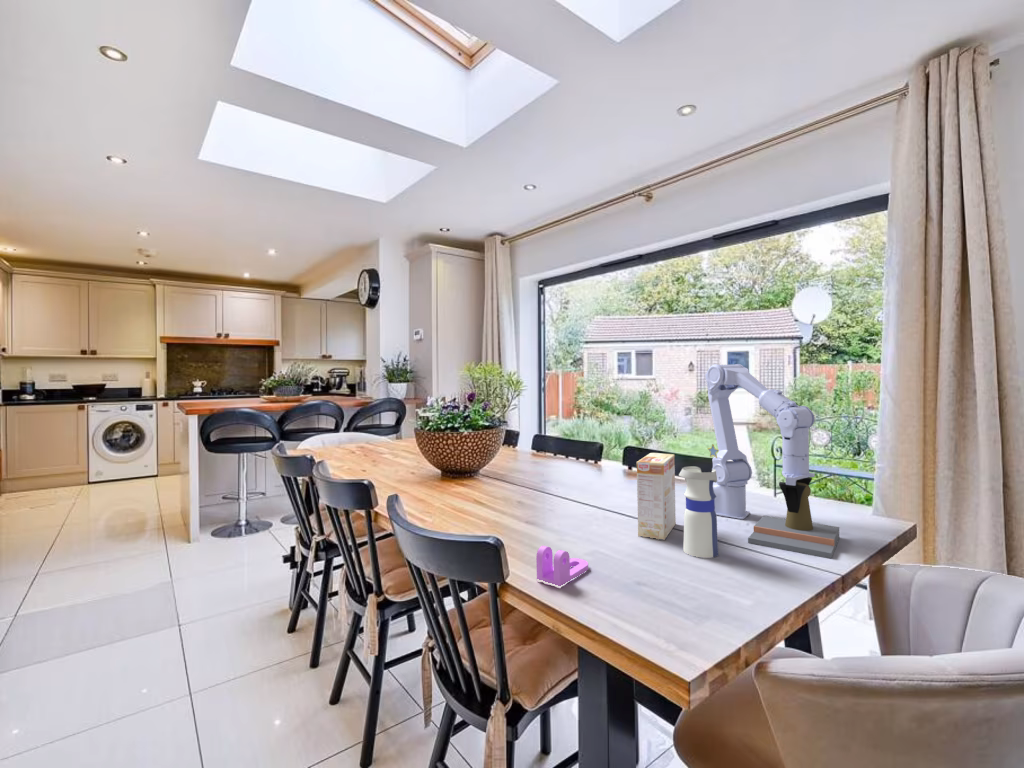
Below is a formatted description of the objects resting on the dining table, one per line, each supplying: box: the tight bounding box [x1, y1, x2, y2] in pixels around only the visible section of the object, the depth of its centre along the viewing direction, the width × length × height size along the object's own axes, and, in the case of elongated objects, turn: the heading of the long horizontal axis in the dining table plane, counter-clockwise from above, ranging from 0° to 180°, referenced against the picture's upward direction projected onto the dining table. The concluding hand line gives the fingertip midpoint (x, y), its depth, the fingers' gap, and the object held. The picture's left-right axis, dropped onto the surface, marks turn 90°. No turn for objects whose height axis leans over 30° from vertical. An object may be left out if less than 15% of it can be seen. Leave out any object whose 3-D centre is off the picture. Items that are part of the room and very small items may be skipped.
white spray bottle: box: [678, 443, 719, 559], centre depth 112 cm, size 8×9×25 cm
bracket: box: [535, 545, 589, 586], centre depth 100 cm, size 13×6×7 cm, turn 141°
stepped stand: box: [747, 515, 840, 559], centre depth 118 cm, size 17×17×3 cm
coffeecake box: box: [636, 452, 677, 541], centre depth 127 cm, size 15×7×20 cm, turn 150°
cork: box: [785, 482, 813, 531], centre depth 120 cm, size 6×6×11 cm
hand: (796, 508), depth 120 cm, fingers open, 7 cm apart
